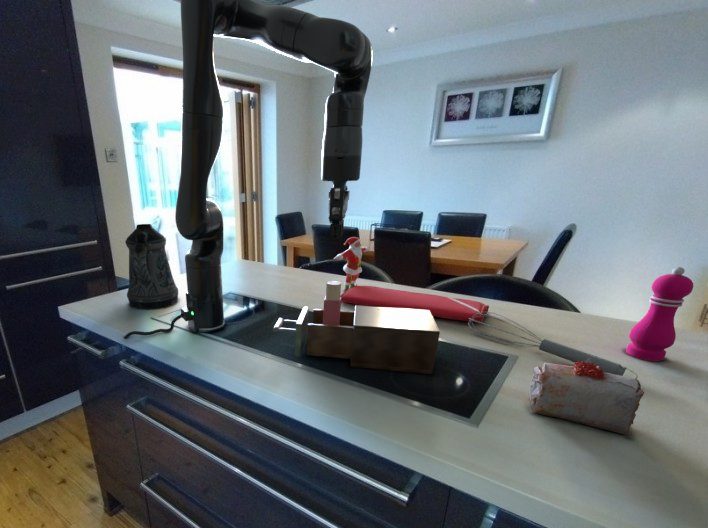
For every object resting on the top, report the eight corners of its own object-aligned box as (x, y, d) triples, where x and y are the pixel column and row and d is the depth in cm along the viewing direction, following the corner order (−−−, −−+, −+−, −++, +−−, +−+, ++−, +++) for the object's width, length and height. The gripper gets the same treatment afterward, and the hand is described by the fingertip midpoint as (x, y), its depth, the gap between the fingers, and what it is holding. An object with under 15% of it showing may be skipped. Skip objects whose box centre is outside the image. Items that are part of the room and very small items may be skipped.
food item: (525, 414, 67) (540, 363, 63) (525, 394, 73) (539, 346, 69) (630, 441, 60) (654, 385, 56) (621, 416, 66) (642, 364, 62)
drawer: (270, 354, 88) (270, 321, 85) (280, 334, 100) (281, 305, 97) (366, 363, 84) (369, 329, 81) (366, 341, 95) (369, 310, 92)
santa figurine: (341, 299, 129) (345, 242, 122) (325, 296, 132) (328, 241, 125) (373, 284, 147) (378, 233, 139) (358, 281, 150) (363, 232, 143)
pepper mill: (655, 350, 89) (691, 264, 82) (674, 364, 83) (715, 272, 75) (616, 347, 92) (648, 262, 84) (632, 359, 85) (668, 269, 78)
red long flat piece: (357, 291, 138) (358, 281, 136) (488, 312, 115) (490, 300, 114) (338, 302, 126) (338, 291, 125) (479, 328, 104) (481, 315, 102)
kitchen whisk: (630, 387, 75) (642, 357, 72) (461, 334, 101) (465, 311, 98) (640, 378, 78) (652, 349, 75) (473, 329, 104) (478, 307, 101)
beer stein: (169, 292, 140) (162, 220, 130) (189, 306, 125) (182, 226, 115) (123, 299, 132) (111, 223, 123) (137, 315, 117) (125, 230, 107)
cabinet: (350, 366, 84) (353, 325, 80) (352, 342, 96) (355, 305, 93) (432, 374, 80) (440, 331, 77) (423, 348, 92) (429, 310, 89)
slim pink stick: (321, 345, 90) (324, 284, 84) (322, 340, 92) (326, 280, 87) (337, 347, 89) (341, 285, 83) (338, 341, 92) (342, 281, 86)
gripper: (325, 156, 82) (321, 234, 89) (318, 153, 70) (314, 244, 76) (361, 155, 81) (355, 235, 87) (361, 152, 68) (353, 245, 74)
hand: (336, 239), depth 81 cm, fingers open, 8 cm apart
